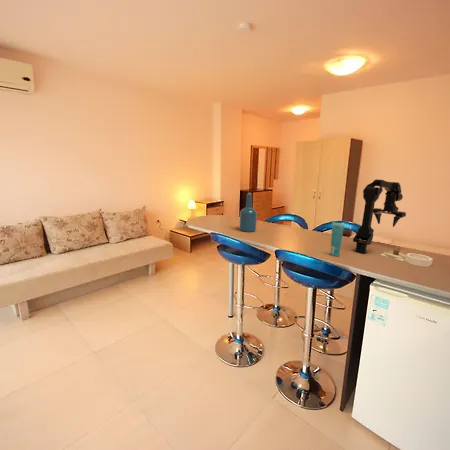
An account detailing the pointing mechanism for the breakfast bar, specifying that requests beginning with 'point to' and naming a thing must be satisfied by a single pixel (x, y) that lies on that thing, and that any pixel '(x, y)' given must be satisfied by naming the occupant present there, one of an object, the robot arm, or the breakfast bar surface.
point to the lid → (395, 253)
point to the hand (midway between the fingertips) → (386, 225)
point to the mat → (390, 257)
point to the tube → (336, 238)
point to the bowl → (418, 259)
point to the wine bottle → (248, 216)
